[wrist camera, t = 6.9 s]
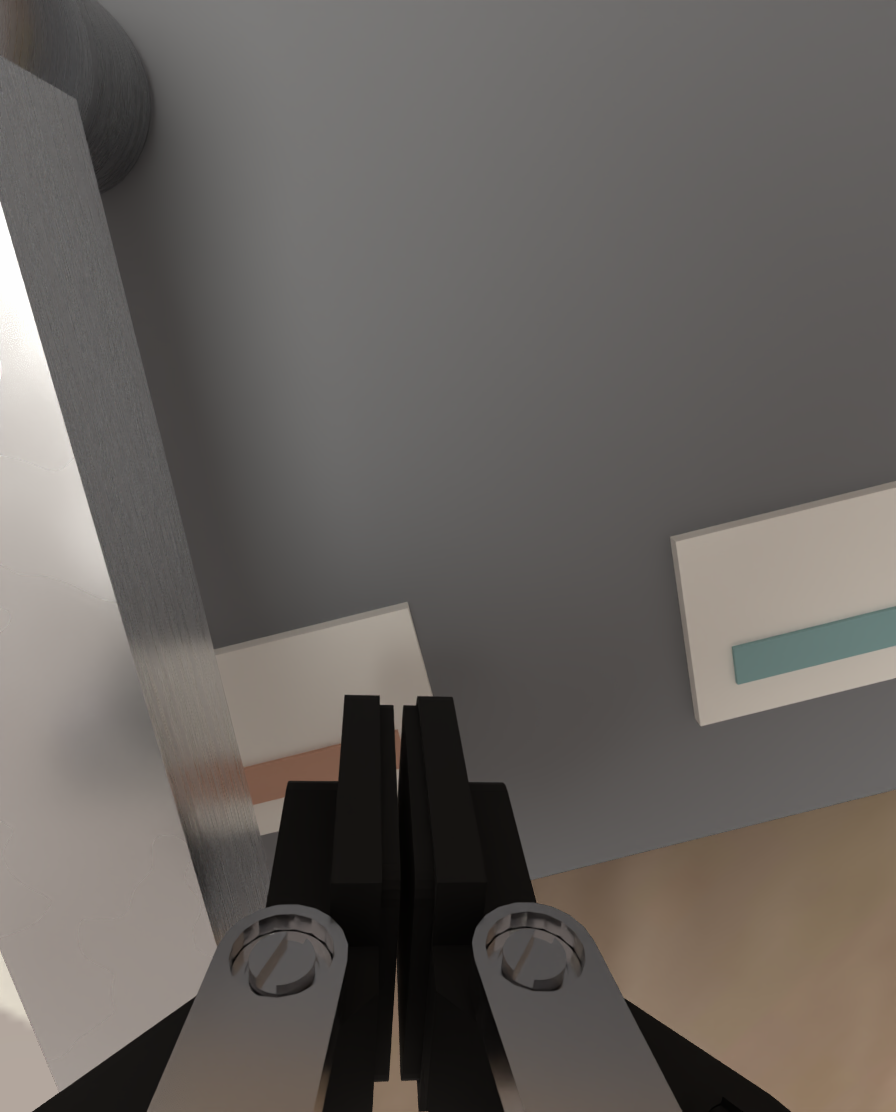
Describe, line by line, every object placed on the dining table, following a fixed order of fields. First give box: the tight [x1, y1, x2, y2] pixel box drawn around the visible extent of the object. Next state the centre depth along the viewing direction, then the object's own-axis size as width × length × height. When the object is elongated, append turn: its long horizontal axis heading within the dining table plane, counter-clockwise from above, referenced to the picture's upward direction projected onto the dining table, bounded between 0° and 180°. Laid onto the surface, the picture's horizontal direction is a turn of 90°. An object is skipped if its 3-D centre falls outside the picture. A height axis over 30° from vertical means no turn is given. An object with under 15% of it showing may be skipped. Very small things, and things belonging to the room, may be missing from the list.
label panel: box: [97, 0, 896, 880], centre depth 14 cm, size 20×18×2 cm
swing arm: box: [0, 0, 271, 1092], centre depth 11 cm, size 3×17×6 cm, turn 7°
